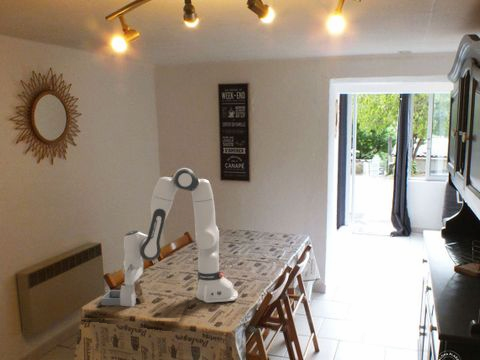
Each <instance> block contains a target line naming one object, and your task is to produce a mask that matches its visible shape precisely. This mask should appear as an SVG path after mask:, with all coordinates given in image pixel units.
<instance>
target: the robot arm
mask: <svg viewBox="0 0 480 360" xmlns="http://www.w3.org/2000/svg"><path fill="white" fill-rule="evenodd" d="M179 190H183V191H189V192H191V195H192V196H191V197H192V206H193V212H194V230H195V231H194V232H195V233H194V234H195V243H196V245H197V247H198V254H197V258H198V259H197V265H198V266H197V267H198V270H197V282H198V283H197V291H196V296H195V298H197V299H198V300H200V301H202V302H204V303H219V302H220V303H222V302H232V301H236V300H237V299H238V297H239V293H238V291H237V290H236V289H234V285H233V283H232V282H231V281H230V280H229V279H227V278H226V277H224V272H223V270H221V269H220V262H219V261H220V260H219V259H220V257H219V255H220V230H219V228H218V226H217V223H216V209H215V208H216V207H215V199H214V193H213V188H212V185H211V183H210V181H209V180H208V179H206V178H198V177H197V176H196V174H195V173H194V171H193V170H192V169H190V168H188V167H182V168H179V169H177V170H176V171H175V172H174V173H173V175H172V176H171V177H170V176H169V177H168V176H161V177H160V178H159V179H158V181H157V182H156V184H155V186H154V190H153V192H152V196H151V200H150V216H151V219H150V225H149V230H148V234H145V233H143V232H141V231H140V230H132V231H129V232H126V234H125V235H124V237H123V251H124V257H123V258H124V261H125V267H127V270H126V271H125V284H124V285H125V286H133V287H134V291H135V286H134V282H136V281H140V276H141V275H143V272H144V262H145V261H148V262H150V261H151V262H153V261H155V260H157V259H158V258H159V257H160V254H161V252H162V251H161V244H160V241H161V235H162V233H163V232H162V231H163V227H164V224H165V221H166V220H167V217H168V215H169V213H170V210H171V208H172V206H173V202H174V200H175V195H176V193H177V191H179Z"/></svg>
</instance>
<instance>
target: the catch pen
mask: <svg viewBox="0 0 480 360" xmlns="http://www.w3.org/2000/svg"><path fill="white" fill-rule="evenodd" d="M120 291H121V289H119V290H118V289H117V290H116V289H115V290H113V289H111V290H108V291H107V292H106V293H105V294H104V295H103V296H102V297H101V303H100V304H101V306H121V305H120Z"/></svg>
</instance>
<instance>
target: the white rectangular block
mask: <svg viewBox="0 0 480 360" xmlns="http://www.w3.org/2000/svg"><path fill="white" fill-rule="evenodd" d="M120 290H121V291H120V297H119V298H120V305H119V306H123V307H131V308H133V307H134V306H135V305H136V304H137V295H136V293H135V290H134V287H133V286H126V285H125V284H122V285H120Z"/></svg>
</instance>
